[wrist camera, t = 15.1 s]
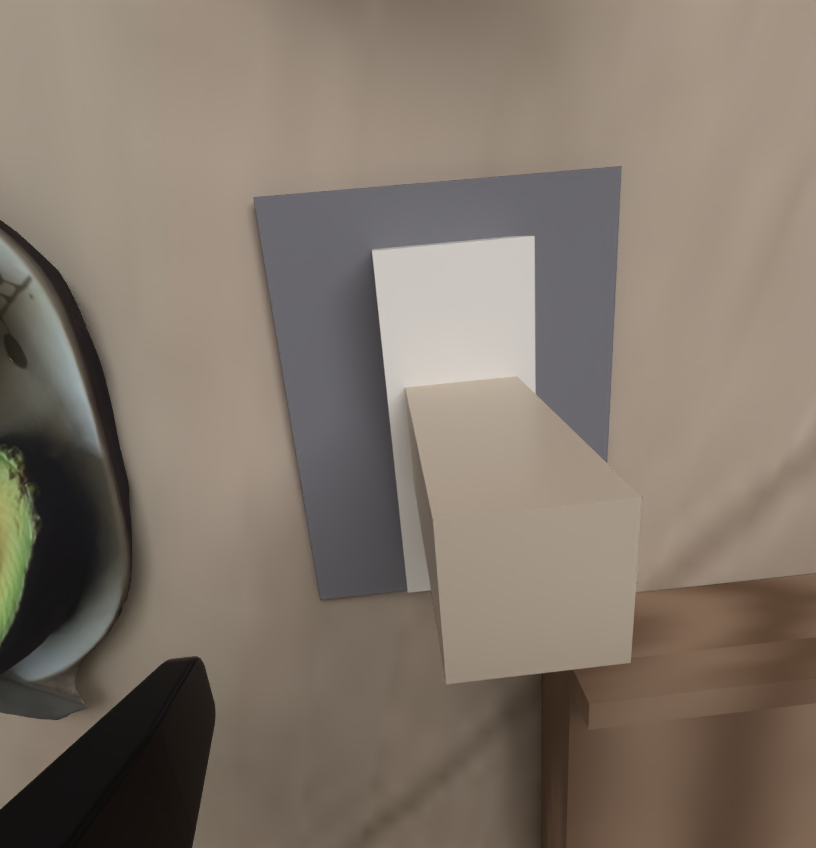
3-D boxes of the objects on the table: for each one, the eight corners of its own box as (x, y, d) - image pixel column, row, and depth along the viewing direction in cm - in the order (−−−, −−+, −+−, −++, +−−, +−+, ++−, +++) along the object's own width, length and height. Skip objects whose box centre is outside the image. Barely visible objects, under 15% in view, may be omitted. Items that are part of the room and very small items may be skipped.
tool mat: (615, 167, 15) (621, 165, 14) (597, 563, 19) (602, 569, 19) (256, 198, 14) (253, 197, 14) (321, 592, 19) (320, 599, 18)
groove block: (882, 566, 20) (1019, 654, 16) (816, 820, 25) (908, 941, 20) (542, 603, 20) (589, 704, 15) (541, 854, 24) (577, 984, 20)
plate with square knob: (514, 236, 15) (700, 232, 6) (519, 543, 18) (646, 809, 10) (372, 249, 15) (369, 264, 6) (404, 555, 18) (430, 836, 10)
